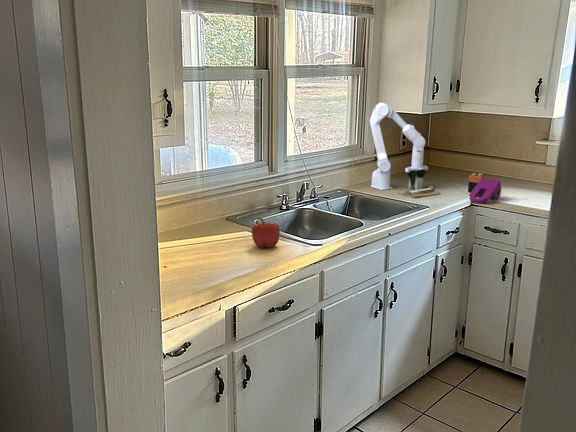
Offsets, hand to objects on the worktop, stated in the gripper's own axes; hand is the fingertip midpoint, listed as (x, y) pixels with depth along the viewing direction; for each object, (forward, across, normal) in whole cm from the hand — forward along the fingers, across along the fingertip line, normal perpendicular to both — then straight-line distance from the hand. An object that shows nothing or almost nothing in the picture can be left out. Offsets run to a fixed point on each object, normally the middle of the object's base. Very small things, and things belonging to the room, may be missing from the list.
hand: (415, 184), depth 308 cm
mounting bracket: (+3, +11, -35) cm, 37 cm away
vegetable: (+3, -117, -42) cm, 124 cm away
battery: (+3, +21, -22) cm, 31 cm away
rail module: (+2, 0, 0) cm, 2 cm away
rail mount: (+2, -7, -10) cm, 12 cm away
